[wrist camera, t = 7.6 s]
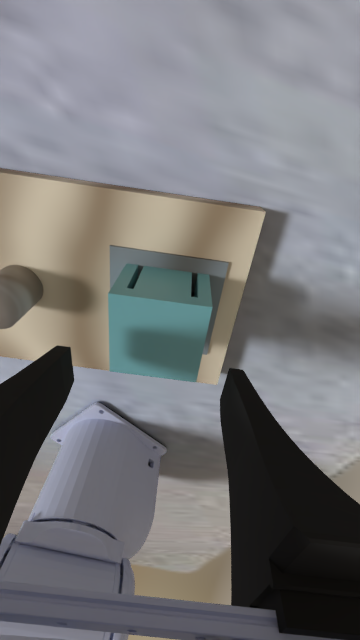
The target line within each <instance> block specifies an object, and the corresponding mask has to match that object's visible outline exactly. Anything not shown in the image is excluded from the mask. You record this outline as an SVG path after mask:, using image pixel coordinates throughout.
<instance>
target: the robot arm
mask: <svg viewBox="0 0 360 640" xmlns="http://www.w3.org/2000/svg"><path fill="white" fill-rule="evenodd" d="M73 382H74V374H73V365H72V355H71V347H66V346H58V345H57V346H55V347H54V348H52V349H51V350H50V351H48V352H47V353H45V354H44V355H43V356H41V357H40V358H38V359H37V360H36V361H34V362H33V363H31V364H30V365H29V366H27V367H26V368H24V369H23V370H21V371H20V372H18V373H17V374H16V375H14V376H12V377H11V378H9V379H8V380H6V381H4V382H3V383H1V384H0V640H127V639H128V635H129V634H131V635H141V636H150V637H160V638H169V639H180V640H360V504H358V503H357V502H356V501H355V500H354V499H352V498H351V497H350V496H349V495H347V494H346V493H345V492H344V491H343V490H342V489H341V488H339V487H338V486H337V485H336V484H335V483H334V482H333V481H332V480H331V479H329V478H328V477H327V476H326V475H325V474H324V473H323V472H322V471H321V470H320V469H319V468H318V467H317V466H316V465H315V464H314V463H313V462H312V461H311V460H310V459H309V458H308V457H307V456H306V455H305V454H304V453H303V452H302V451H301V450H300V449H299V448H298V446H297V445H296V444H295V443H294V442H293V441H292V440H291V438H290V437H289V436H288V435H287V434H286V433H285V431H284V430H283V429H282V427H281V426H280V425H279V424H278V422H277V421H276V420H275V418H274V417H273V416H272V414H271V413H270V411H269V410H268V408H267V407H266V405H265V404H264V403H263V401H262V400H261V398H260V397H259V395H258V393H257V392H256V390H255V389H254V387H253V385H252V384H251V382H250V381H249V379H248V377H247V376H246V374H245V372H244V371H243V370H240V369H233V368H229V371H228V375H227V378H226V381H225V385H224V388H223V391H222V395H221V398H220V417H221V427H222V434H223V441H224V448H225V455H226V462H227V469H228V478H229V496H230V521H231V565H232V566H231V573H232V574H231V578H232V579H231V581H232V600H231V601H232V602H231V605H220V604H211V603H203V602H193V601H184V600H175V599H166V598H156V597H147V596H138V595H134V589H135V581H134V573H133V570H132V568H131V565H130V561H129V560H128V559H130V558H132V557H133V556H134V555H135V554H136V553H137V552H138V551H139V550H140V549H141V547H142V546H143V544H144V542H145V540H146V538H147V536H148V534H149V531H150V529H151V526H152V522H153V518H154V511H155V503H156V494H157V485H158V477H159V468H160V459H161V456H162V455H164V454H166V452H167V448H166V447H164V446H163V445H162V444H160V443H159V442H157V441H156V440H154V439H153V438H151V437H150V436H148V435H147V434H145V433H144V432H142V431H141V430H139V429H138V428H137V427H135V426H134V425H132V424H131V423H129V422H128V421H126V420H125V419H123V418H122V417H120V416H119V415H117V414H116V413H114V412H113V411H112V410H110V409H109V408H107V407H106V406H104V405H103V404H101V403H94V404H93V405H91V406H90V407H88V408H87V409H85V410H84V411H83V412H81V413H80V414H78V415H77V416H76V417H74V418H73V419H71V420H70V421H69V422H67V423H66V424H64V425H63V426H61V427H60V428H59V429H57V430H56V431H54V432H53V433H52V434H51V436H50V438H51V439H52V440H54V441H55V442H57V443H59V444H61V445H62V446H61V448H60V451H59V453H58V455H57V457H56V459H55V462H54V464H53V466H52V468H51V470H50V473H49V475H48V477H47V479H46V481H45V484H44V486H43V488H42V490H41V492H40V495H39V497H38V499H37V501H36V503H35V506H34V508H33V510H32V512H31V514H30V517H29V519H28V521H27V520H25V521H24V522H23V524H22V526H21V528H20V530H19V533H18V535H15V534H11V533H9V534H7V535H6V536H5V537H4V538H3V536H4V534H5V531H6V528H7V526H8V523H9V521H10V518H11V515H12V513H13V510H14V508H15V505H16V503H17V500H18V498H19V495H20V493H21V490H22V488H23V486H24V483H25V481H26V478H27V476H28V474H29V471H30V469H31V467H32V464H33V462H34V460H35V458H36V455H37V454H38V452H39V450H40V448H41V446H42V444H43V442H44V440H45V438H46V437H47V435H48V433H49V431H50V429H51V428H52V426H53V424H54V422H55V420H56V419H57V417H58V415H59V413H60V411H61V409H62V408H63V406H64V404H65V402H66V400H67V397H68V395H69V393H70V390H71V387H72V385H73ZM16 536H17V537H16Z"/></svg>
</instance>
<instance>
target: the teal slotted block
mask: <svg viewBox="0 0 360 640" xmlns="http://www.w3.org/2000/svg"><path fill="white" fill-rule="evenodd" d="M137 279H138V280H137ZM191 284H192V272H186V271H178V270H171V269H164V268H156V267H149V266H144V267H143V269H142V271H141V273H140V276H139V278H138V265H135V264H127V263H126V265H125V267H124V268H123V270H122V271H121V273H120V275H119V276H118V278H117V280H116V281H115V283H114V285H113V286H112V288H111V289H110V291H109V293H108V314H109V367H110V371H112V372H120V373H127V374H135V375H143V376H151V377H159V378H167V379H174V380H182V381H190V382H196V381H197V376H198V372H199V367H200V363H201V358H202V354H203V349H204V344H205V340H206V335H207V331H208V326H209V321H210V317H211V312H212V308H213V307H212V297H211V288H210V278H209V275H207V274H200V273H198V274H197V280H196V286H195V292H194V297H191Z"/></svg>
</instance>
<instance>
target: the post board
mask: <svg viewBox="0 0 360 640" xmlns="http://www.w3.org/2000/svg"><path fill="white" fill-rule="evenodd" d="M265 213H266V212H265V211H264V210H263V209H262V208H261V207H257V206H250V205H244V204H237V203H230V202H224V201H217V200H210V199H203V198H197V197H190V196H183V195H177V194H170V193H163V192H157V191H150V190H143V189H136V188H130V187H123V186H116V185H110V184H103V183H96V182H89V181H83V180H76V179H69V178H63V177H56V176H49V175H43V174H36V173H29V172H22V171H16V170H9V169H2V168H0V356H2V357H9V358H17V359H25V360H32V361H36V360H37V359H38V358H40V357H41V356H43V355H44V354H45V353H47V352H48V351H50V350H51V349H52V348H54V347H55V346H57V345H58V346H66V347H71V355H72V365H73V366H78V367H85V368H93V369H101V370H108V371H110V367H109V314H108V293H109V291H110V289H111V288H112V286H113V285H114V283H115V281H116V280H117V278H118V276H119V275H120V273H121V271H122V270H123V268H124V267H125V265H126V263H127V264H135V265H138V278H139V276H140V273H141V271H142V269H143V267H144V266H149V267H156V268H164V269H171V270H178V271H186V272H192V284H191V297H194V292H195V286H196V280H197V274H198V273H200V274H207V275H209V278H210V288H211V297H212V307H213V308H212V312H211V317H210V321H209V326H208V331H207V335H206V340H205V344H204V349H203V354H202V358H201V363H200V367H199V372H198V376H197V381H196V382H200V383H207V384H215V385H217V383H218V379H219V376H220V372H221V369H222V365H223V362H224V358H225V355H226V351H227V348H228V344H229V340H230V337H231V333H232V330H233V326H234V323H235V319H236V316H237V312H238V309H239V305H240V302H241V298H242V295H243V291H244V288H245V284H246V280H247V277H248V273H249V270H250V266H251V263H252V259H253V256H254V252H255V249H256V245H257V242H258V238H259V235H260V231H261V227H262V224H263V220H264V217H265ZM137 280H138V279H137Z"/></svg>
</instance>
